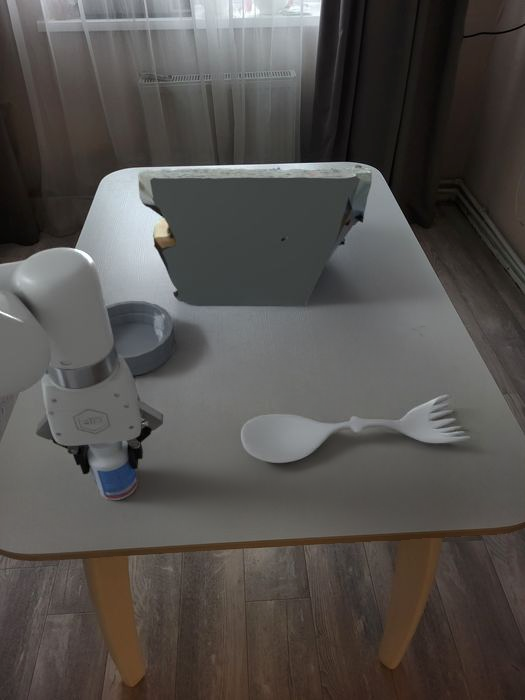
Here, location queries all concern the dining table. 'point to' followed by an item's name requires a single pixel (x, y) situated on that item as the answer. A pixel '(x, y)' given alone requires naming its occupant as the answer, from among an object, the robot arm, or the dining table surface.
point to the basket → (251, 229)
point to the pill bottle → (112, 469)
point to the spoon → (307, 435)
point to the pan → (141, 334)
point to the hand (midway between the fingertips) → (111, 461)
